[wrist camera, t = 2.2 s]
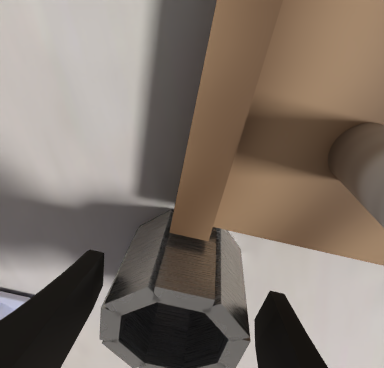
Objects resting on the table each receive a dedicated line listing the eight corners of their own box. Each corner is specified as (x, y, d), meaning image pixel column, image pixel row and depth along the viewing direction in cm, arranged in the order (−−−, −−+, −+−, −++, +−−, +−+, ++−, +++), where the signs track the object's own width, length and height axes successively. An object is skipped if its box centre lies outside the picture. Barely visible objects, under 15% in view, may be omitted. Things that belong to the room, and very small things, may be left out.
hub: (131, 278, 15) (98, 362, 11) (141, 201, 12) (102, 274, 8) (222, 298, 15) (223, 389, 11) (251, 226, 12) (267, 311, 8)
